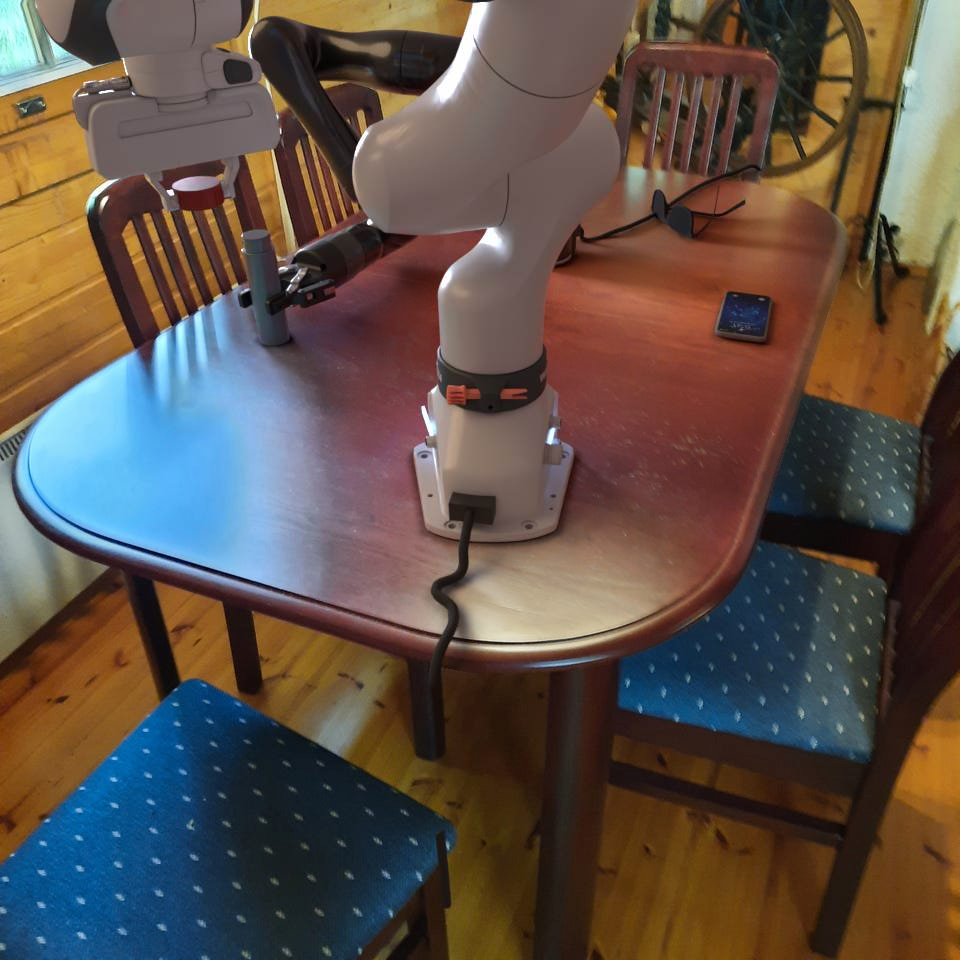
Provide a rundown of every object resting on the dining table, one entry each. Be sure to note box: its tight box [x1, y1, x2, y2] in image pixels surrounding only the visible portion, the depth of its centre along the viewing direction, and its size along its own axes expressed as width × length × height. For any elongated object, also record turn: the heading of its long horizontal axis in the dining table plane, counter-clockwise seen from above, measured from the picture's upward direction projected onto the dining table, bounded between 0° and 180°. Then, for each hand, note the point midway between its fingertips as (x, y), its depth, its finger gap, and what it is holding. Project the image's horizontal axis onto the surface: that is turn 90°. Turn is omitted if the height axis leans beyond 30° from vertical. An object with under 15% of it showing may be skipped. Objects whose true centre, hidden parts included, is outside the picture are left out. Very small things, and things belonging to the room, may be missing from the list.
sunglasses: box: [649, 184, 746, 239], centre depth 159 cm, size 17×14×5 cm
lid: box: [171, 175, 226, 212], centre depth 96 cm, size 5×5×2 cm
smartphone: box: [714, 290, 774, 343], centre depth 128 cm, size 7×1×15 cm
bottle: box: [241, 228, 291, 347], centre depth 122 cm, size 4×4×16 cm
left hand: (200, 203), depth 96 cm, fingers closed on lid, 5 cm apart
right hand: (254, 305), depth 121 cm, fingers closed on bottle, 4 cm apart
